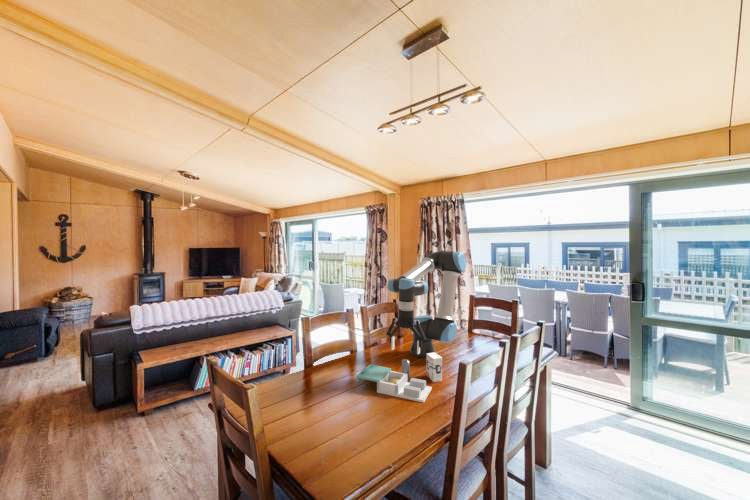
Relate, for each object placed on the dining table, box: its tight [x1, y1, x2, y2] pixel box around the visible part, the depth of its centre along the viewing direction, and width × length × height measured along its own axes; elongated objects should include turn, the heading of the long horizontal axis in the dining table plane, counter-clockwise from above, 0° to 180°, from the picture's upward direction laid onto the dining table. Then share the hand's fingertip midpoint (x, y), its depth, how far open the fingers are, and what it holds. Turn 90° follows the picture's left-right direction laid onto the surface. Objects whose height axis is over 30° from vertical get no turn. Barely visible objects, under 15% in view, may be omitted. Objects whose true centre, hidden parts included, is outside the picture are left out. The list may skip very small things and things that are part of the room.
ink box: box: [425, 351, 443, 383], centre depth 159 cm, size 8×5×12 cm, turn 17°
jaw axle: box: [401, 358, 411, 380], centre depth 159 cm, size 4×4×9 cm
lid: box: [355, 363, 392, 383], centre depth 152 cm, size 15×12×4 cm
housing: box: [376, 370, 433, 404], centre depth 145 cm, size 14×22×5 cm, turn 66°
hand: (405, 351), depth 158 cm, fingers open, 13 cm apart
